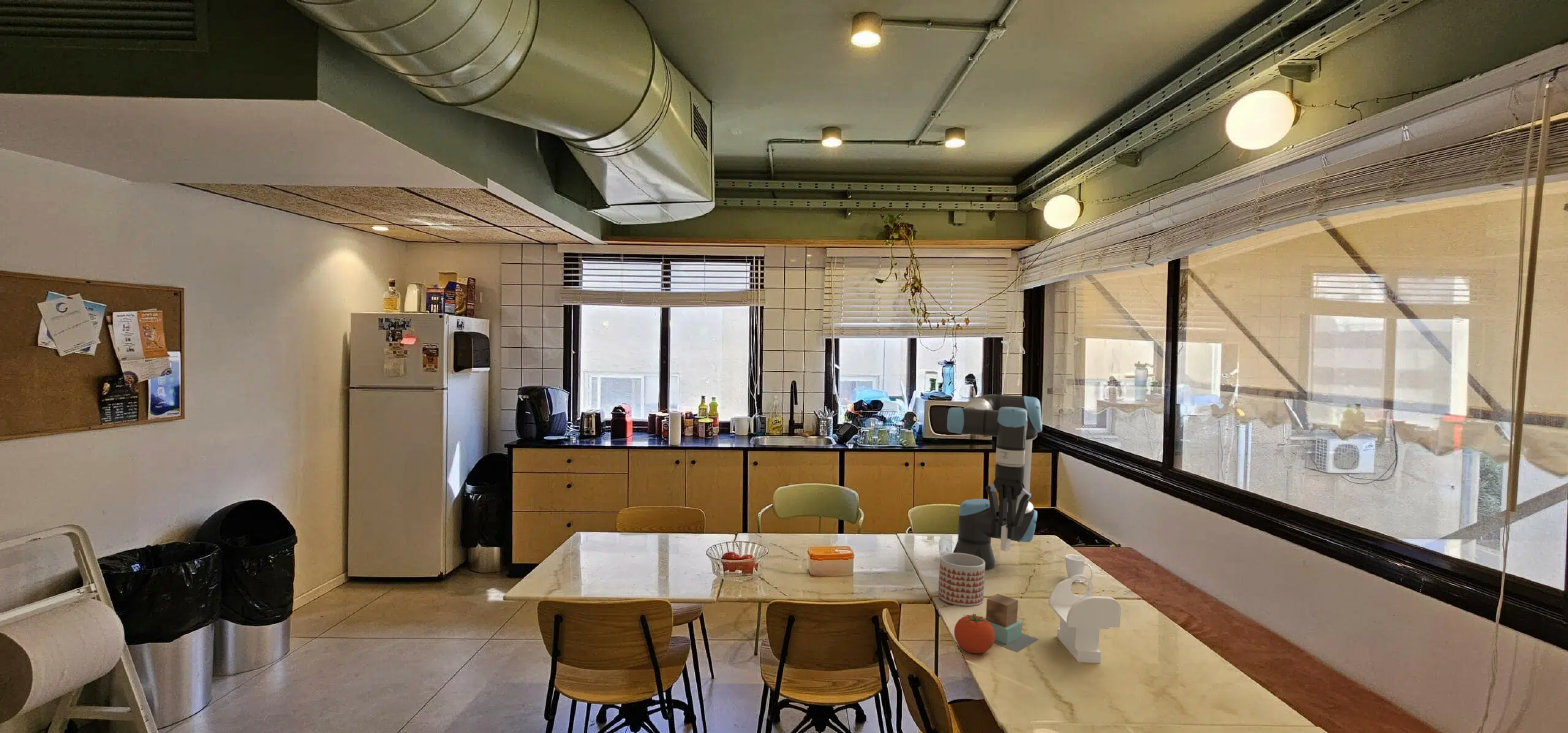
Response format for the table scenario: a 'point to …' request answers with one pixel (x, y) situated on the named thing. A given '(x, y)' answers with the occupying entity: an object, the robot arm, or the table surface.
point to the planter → (961, 579)
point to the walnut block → (1001, 610)
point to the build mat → (1018, 643)
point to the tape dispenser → (1083, 618)
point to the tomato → (974, 634)
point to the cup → (1076, 566)
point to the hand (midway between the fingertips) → (1005, 549)
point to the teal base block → (1007, 632)
